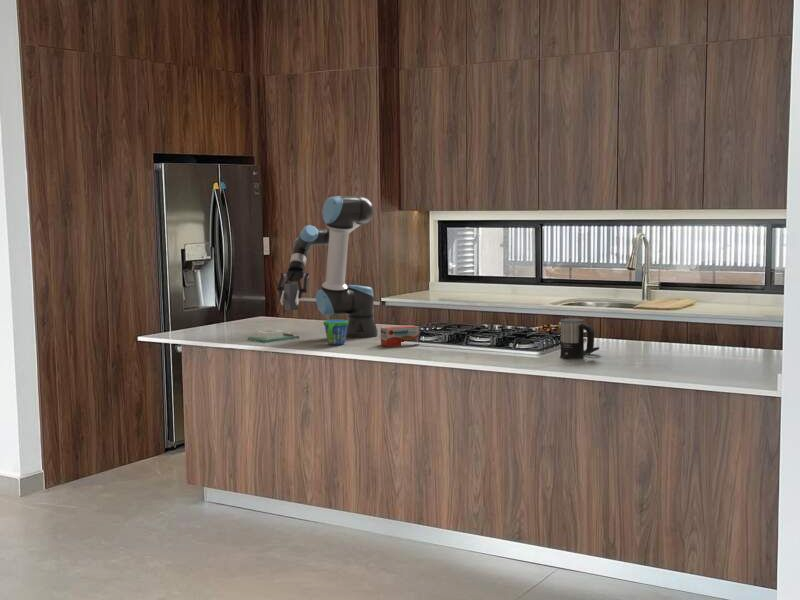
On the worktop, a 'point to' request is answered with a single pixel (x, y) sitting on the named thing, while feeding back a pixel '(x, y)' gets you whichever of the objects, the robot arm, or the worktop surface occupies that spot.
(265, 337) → the board
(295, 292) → the gray rounded block
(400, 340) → the medicine box
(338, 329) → the snack cup
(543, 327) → the plate of food
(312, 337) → the worktop surface
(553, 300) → the worktop surface
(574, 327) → the milk frother
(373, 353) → the worktop surface
